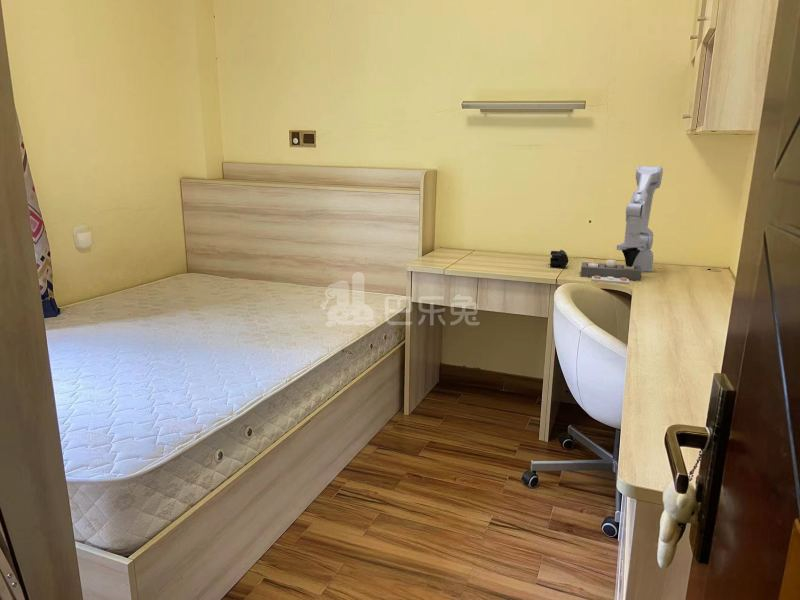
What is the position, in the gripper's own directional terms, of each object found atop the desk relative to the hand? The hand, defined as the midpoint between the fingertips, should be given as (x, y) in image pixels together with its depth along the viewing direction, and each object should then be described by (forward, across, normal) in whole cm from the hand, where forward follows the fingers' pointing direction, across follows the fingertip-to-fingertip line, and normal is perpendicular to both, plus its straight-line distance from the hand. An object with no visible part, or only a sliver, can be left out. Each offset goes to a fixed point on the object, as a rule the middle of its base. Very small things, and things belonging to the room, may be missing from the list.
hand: (629, 266), depth 247 cm
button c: (+4, +10, -10) cm, 14 cm away
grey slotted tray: (+4, +5, -5) cm, 8 cm away
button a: (+4, 0, 0) cm, 4 cm away
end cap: (+5, +10, -30) cm, 32 cm away
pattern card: (+4, +12, +2) cm, 13 cm away
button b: (+2, +5, -5) cm, 7 cm away
